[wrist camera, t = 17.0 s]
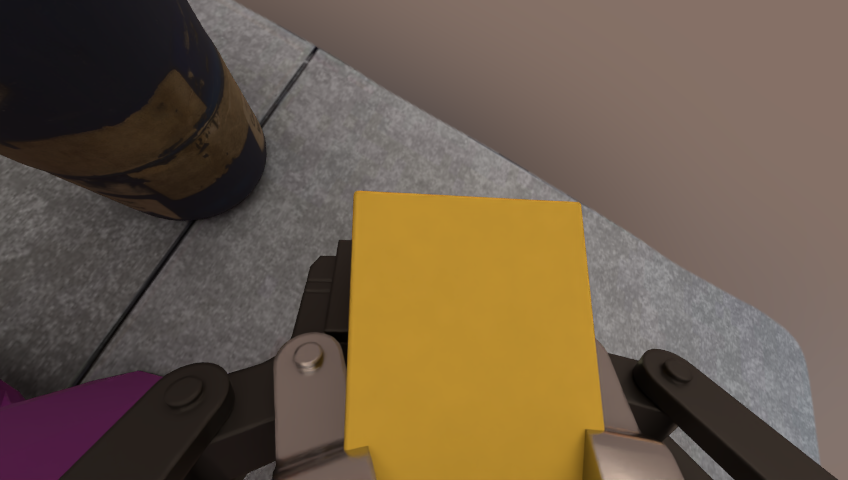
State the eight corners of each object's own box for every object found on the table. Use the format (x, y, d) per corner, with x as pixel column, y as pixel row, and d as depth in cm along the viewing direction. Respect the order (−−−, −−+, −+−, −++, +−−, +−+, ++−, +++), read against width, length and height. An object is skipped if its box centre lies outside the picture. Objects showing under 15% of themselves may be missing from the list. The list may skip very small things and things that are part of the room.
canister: (91, 197, 21) (-1317, -342, 3) (162, 78, 23) (-471, -618, 6) (239, 245, 22) (-260, 17, 4) (294, 126, 24) (104, -337, 7)
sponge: (359, 381, 14) (338, 560, 4) (363, 264, 15) (353, 188, 5) (450, 377, 14) (617, 524, 5) (448, 266, 15) (582, 200, 6)
